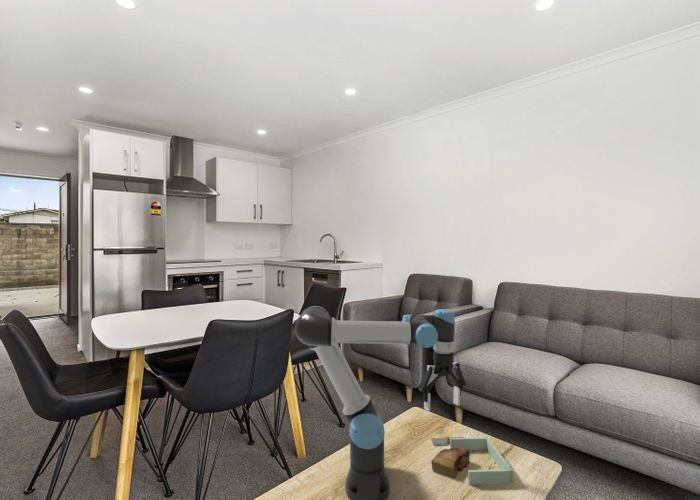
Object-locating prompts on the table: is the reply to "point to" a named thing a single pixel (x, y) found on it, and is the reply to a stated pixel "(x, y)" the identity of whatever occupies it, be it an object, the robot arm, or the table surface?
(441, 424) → the table surface
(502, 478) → the mint green u-channel
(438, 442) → the trowel
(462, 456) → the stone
